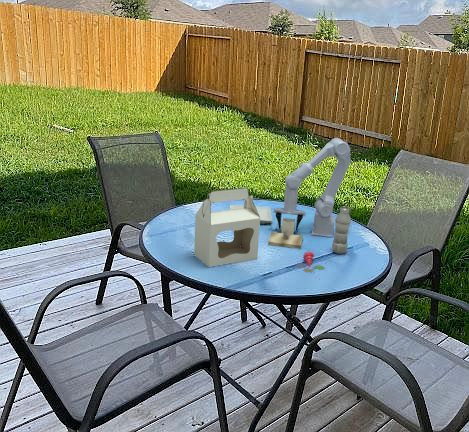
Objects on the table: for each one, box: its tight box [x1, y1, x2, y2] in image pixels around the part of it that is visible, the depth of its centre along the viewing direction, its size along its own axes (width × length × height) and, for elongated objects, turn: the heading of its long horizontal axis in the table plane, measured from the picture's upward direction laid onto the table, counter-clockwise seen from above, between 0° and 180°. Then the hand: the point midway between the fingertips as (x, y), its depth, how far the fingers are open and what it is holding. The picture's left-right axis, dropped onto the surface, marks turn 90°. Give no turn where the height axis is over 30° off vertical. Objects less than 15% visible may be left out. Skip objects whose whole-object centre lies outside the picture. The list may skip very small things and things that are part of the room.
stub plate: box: [267, 231, 303, 250], centre depth 211 cm, size 14×12×5 cm
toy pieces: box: [295, 251, 325, 273], centre depth 188 cm, size 12×11×4 cm
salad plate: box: [229, 204, 273, 225], centre depth 240 cm, size 21×21×3 cm
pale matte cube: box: [280, 217, 296, 235], centre depth 222 cm, size 6×6×6 cm
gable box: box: [193, 187, 261, 268], centre depth 188 cm, size 22×13×28 cm, turn 119°
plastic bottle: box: [331, 205, 352, 255], centre depth 201 cm, size 6×7×20 cm
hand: (288, 229), depth 223 cm, fingers open, 7 cm apart
